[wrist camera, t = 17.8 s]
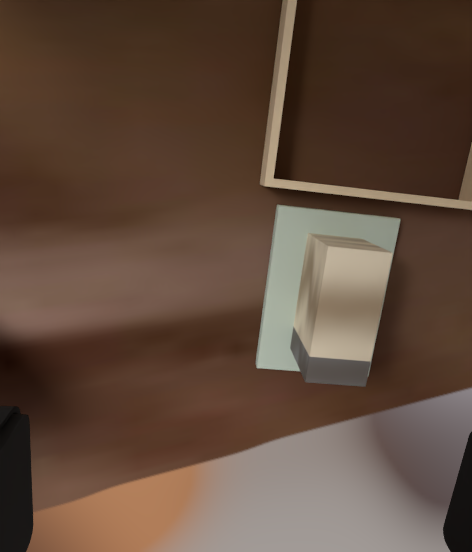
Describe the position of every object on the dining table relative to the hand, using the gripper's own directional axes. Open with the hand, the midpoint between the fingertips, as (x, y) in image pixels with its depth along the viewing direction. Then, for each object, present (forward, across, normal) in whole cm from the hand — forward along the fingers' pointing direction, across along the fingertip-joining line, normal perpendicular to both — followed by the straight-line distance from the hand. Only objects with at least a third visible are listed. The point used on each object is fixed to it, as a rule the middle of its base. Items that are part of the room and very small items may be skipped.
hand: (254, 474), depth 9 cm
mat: (+27, -10, +4) cm, 29 cm away
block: (+26, -10, +4) cm, 28 cm away
